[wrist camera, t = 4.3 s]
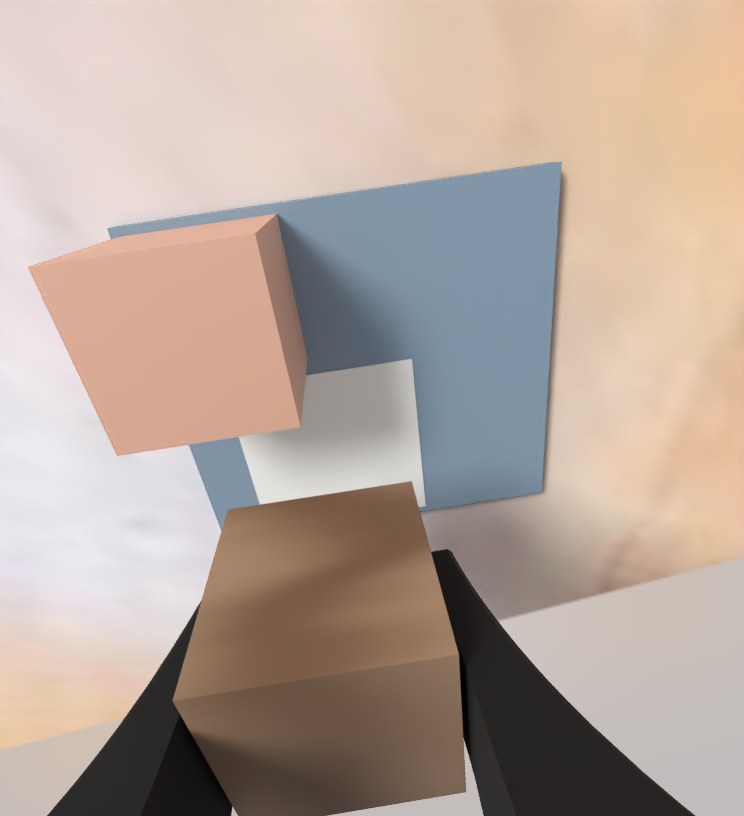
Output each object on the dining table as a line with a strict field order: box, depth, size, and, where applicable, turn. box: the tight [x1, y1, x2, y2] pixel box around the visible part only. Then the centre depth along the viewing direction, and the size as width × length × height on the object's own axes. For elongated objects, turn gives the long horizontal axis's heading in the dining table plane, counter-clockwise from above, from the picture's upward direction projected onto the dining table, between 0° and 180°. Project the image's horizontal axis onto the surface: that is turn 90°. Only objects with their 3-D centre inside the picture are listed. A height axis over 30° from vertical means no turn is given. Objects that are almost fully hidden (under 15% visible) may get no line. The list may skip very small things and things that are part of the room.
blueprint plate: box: [108, 162, 562, 531], centre depth 16 cm, size 13×12×1 cm
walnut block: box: [173, 481, 466, 816], centre depth 10 cm, size 4×4×4 cm
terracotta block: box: [28, 214, 308, 456], centre depth 12 cm, size 4×4×4 cm
